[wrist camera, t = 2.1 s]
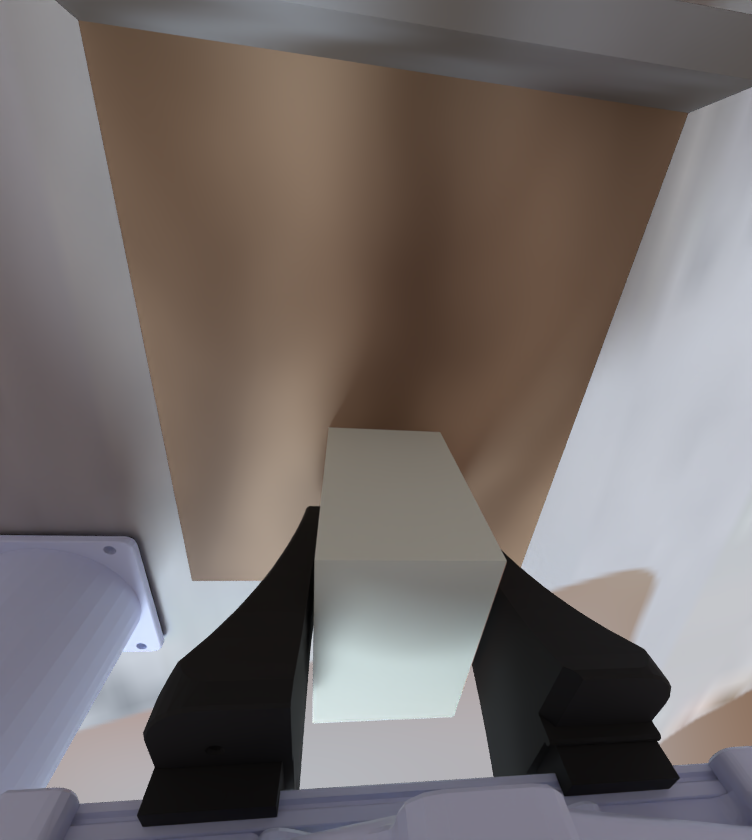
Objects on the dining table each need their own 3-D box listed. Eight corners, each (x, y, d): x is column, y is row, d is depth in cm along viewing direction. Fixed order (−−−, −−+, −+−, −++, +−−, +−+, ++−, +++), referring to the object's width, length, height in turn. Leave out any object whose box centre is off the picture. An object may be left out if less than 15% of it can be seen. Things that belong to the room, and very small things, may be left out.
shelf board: (200, 563, 17) (172, 621, 14) (93, -21, 9) (-23, -145, 6) (507, 564, 19) (535, 616, 16) (676, 75, 10) (794, 11, 8)
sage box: (324, 556, 16) (312, 723, 10) (328, 427, 13) (314, 560, 8) (423, 556, 17) (462, 716, 11) (447, 432, 14) (519, 560, 8)
